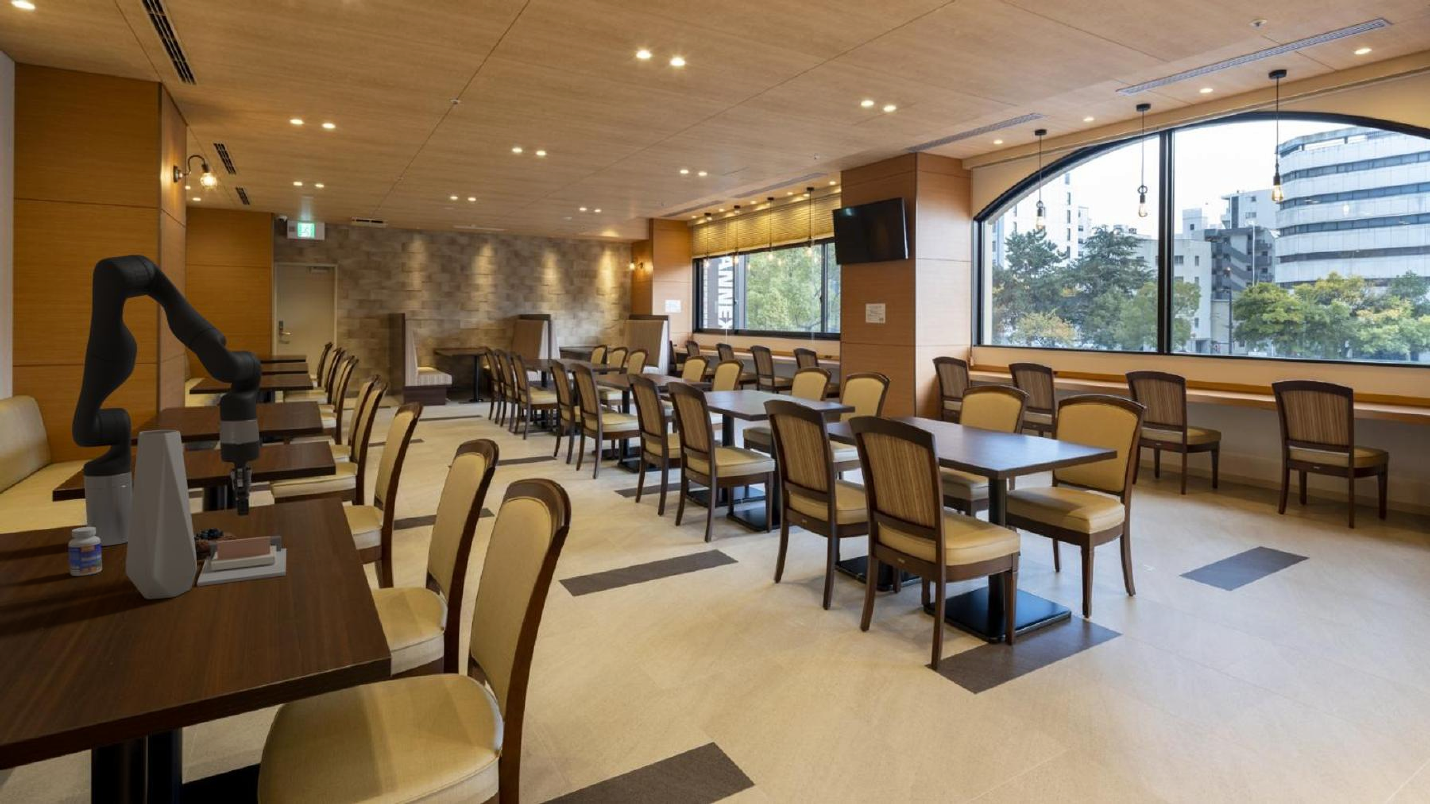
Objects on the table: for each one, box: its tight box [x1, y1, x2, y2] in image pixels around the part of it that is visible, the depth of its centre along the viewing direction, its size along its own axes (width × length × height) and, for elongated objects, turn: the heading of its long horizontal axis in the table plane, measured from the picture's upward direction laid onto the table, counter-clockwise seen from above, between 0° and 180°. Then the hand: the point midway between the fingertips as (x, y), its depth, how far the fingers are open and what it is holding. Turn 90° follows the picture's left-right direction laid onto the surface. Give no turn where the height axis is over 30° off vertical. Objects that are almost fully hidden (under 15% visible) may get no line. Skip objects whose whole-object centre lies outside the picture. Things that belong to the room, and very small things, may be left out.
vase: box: [125, 429, 198, 600], centre depth 153 cm, size 12×12×33 cm
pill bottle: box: [68, 526, 103, 577], centre depth 166 cm, size 5×5×10 cm
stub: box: [211, 535, 276, 571], centre depth 170 cm, size 5×12×5 cm, turn 119°
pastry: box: [194, 527, 239, 561], centre depth 182 cm, size 11×12×6 cm
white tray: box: [196, 535, 287, 587], centre depth 171 cm, size 20×16×4 cm
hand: (243, 514), depth 174 cm, fingers closed
